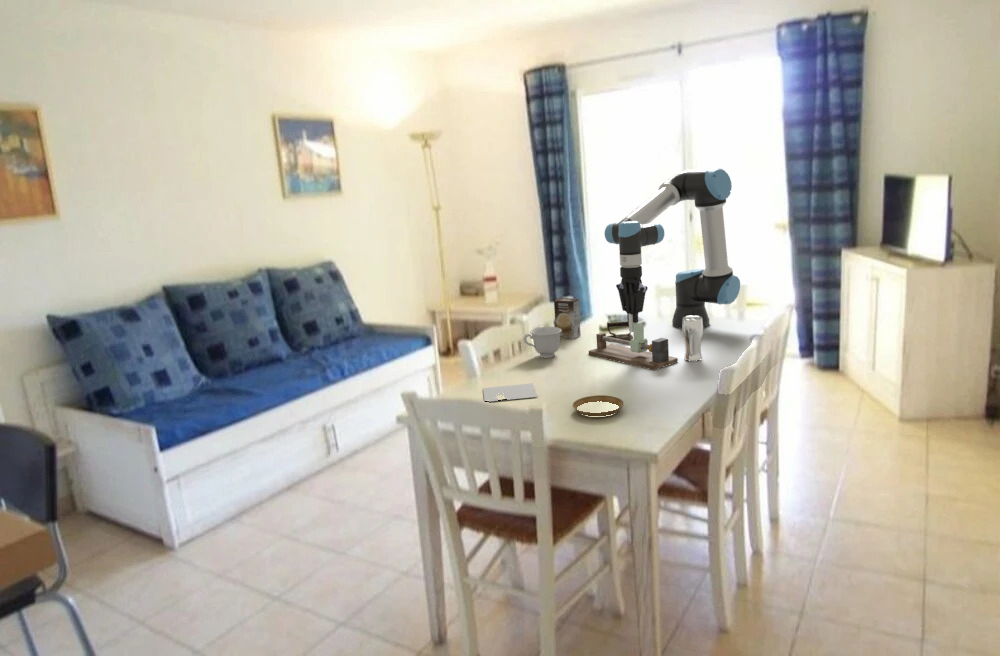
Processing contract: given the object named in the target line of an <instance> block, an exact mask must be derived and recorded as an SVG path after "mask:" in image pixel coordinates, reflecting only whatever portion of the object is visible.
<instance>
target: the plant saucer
mask: <svg viewBox="0 0 1000 656" xmlns="http://www.w3.org/2000/svg"><path fill="white" fill-rule="evenodd" d="M597 401H599V402H600V401H602V402H609V403H612V404H616V405H618V406H619V408H618V409H616V410H613V411H608V412H601V413H590V412H583V411H579V410H577V407H578V406H580V405H582V404H584V403H588V402H597ZM623 406H624V400H623V399H621V398H619V397H616V396H612V395H597V394H596V395H590V396H585V397H584V396H583V397H582V398H579V399H577V400H574V402H573V403H572V407H573V409H574V410H575V411H576V412H577V413H578V414H580V415H581V414H583V415H588V416H606V415H611V414H614V413H616V412H617V413H618V412H619V411H620V410H621V409H622V408H623ZM617 413H616V414H617ZM583 415H582V416H583ZM614 415H615V414H614Z"/></svg>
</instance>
